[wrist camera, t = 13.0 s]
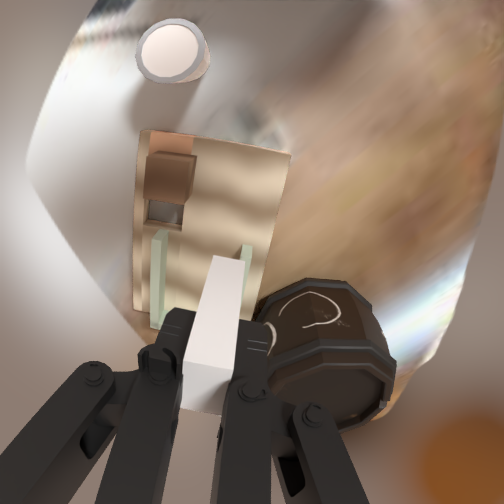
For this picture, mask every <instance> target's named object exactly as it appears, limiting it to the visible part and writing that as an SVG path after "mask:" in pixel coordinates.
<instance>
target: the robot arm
mask: <svg viewBox="0 0 504 504" xmlns="http://www.w3.org/2000/svg"><path fill="white" fill-rule="evenodd" d="M244 269H245V261H242V260H236V259H231V258H226V257H221V256H216V255H213V259H212V262H211V265H210V269H209V272H208V275H207V279H206V282H205V285H204V289H203V292H202V296H201V299H200V302H199V306H198V309H197V312H196V311H191V310H187V309H182V308H177V307H174V308H173V309H172V310H170V311H169V312H168V313H167V314H166V316H165V319H164V321H163V324H162V326H161V329H160V332H159V334H158V336H157V339H156V341H155V344H151V345H147V346H146V347H144V348H142V349H141V350H140V352H139V353H138V365H139V369H138V370H134V371H129V372H112V370H111V368H110V367H109V366H107V365H106V364H105V363H102V362H99V361H89V362H86V363H83V364H82V365H80V366H79V367H78V368H77V369H76V370H75V371H74V372H73V373H72V374H71V375H70V376H69V378H68V379H67V380H66V381H65V382H64V383H63V384H62V385H61V386H60V387H59V388H58V390H57V391H56V392H55V393H54V394H53V395H52V396H51V397H50V398H49V399H48V401H47V402H46V403H45V404H44V405H43V406H42V407H41V408H40V410H39V411H38V412H37V413H36V414H35V415H34V416H33V417H32V419H31V420H30V421H29V422H28V423H27V424H26V426H25V427H24V428H23V429H22V430H21V431H20V433H19V434H18V435H17V436H16V437H15V438H14V440H13V441H12V442H11V443H10V444H9V446H8V447H7V448H6V449H5V450H4V451H3V453H2V454H1V455H0V504H68V503H69V501H70V500H71V499H72V497H73V496H74V494H75V493H76V491H77V490H78V488H79V487H80V486H81V484H82V483H83V481H84V480H85V478H86V477H87V475H88V474H89V472H90V471H91V469H92V468H93V466H94V465H95V464H96V462H97V461H98V459H99V458H100V456H101V455H102V454H103V452H104V451H105V449H106V448H107V446H108V445H109V443H110V442H111V441H112V439H113V438H114V436H115V435H116V437H115V440H114V443H113V446H112V449H111V452H110V455H109V458H108V461H107V464H106V468H105V471H104V474H103V477H102V480H101V484H100V488H99V491H98V494H97V497H96V501H95V504H161V501H162V496H163V492H164V486H165V481H166V476H167V472H168V467H169V462H170V456H171V452H172V448H173V443H174V438H175V434H176V429H177V424H178V414H179V410H180V407H181V408H184V409H189V410H194V411H199V412H204V413H210V414H215V415H221V416H222V417H221V424H220V427H219V431H218V435H217V438H218V442H217V451H216V458H215V466H214V474H213V482H212V490H211V491H212V492H211V499H210V504H271V454H272V457H273V460H274V464H275V468H276V471H277V475H278V478H279V482H280V485H281V488H282V492H283V495H284V499H285V502H286V504H369V501H368V499H367V497H366V494H365V492H364V489H363V487H362V485H361V482H360V480H359V478H358V475H357V473H356V471H355V468H354V466H353V463H352V461H351V459H350V456H349V454H348V452H347V449H346V447H345V445H344V442H343V440H342V438H341V436H340V433H339V431H338V428H337V426H336V424H335V421H334V419H333V417H332V414H331V413H330V412H329V410H328V409H327V408H326V407H325V406H323V405H322V404H319V403H317V402H310V401H306V402H303V403H300V404H299V405H298V406H296V405H293V404H291V403H288V402H285V401H283V400H281V399H279V398H278V397H276V396H275V395H274V394H273V393H272V391H271V390H270V388H269V386H268V381H267V331H266V329H265V327H264V325H263V324H262V323H260V322H254V321H248V320H242V319H239V314H240V305H241V296H242V287H243V278H244ZM116 433H117V434H116Z"/></svg>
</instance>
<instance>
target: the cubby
mask: <svg viewBox="0 0 504 504" xmlns="http://www.w3.org/2000/svg"><path fill="white" fill-rule="evenodd" d="M168 233H169V230H163V229H159V230H158V231H157V233H156V234H155V235H154V237H153V238H152V243H151V270H150V328H154V329H158V330H160V329H161V326H162V324H163V321H164V319H165V316H166V314H167V313H168V312H169V311H168V310H164V300H165V278H166V261H167V246H168ZM252 247H253V246H249V245H244V244H243V245H242V250H241V255H240V260H242V261H245V269H244V278H243V287H242V296H241V304H242V300H243V295H244V291H245V286H246V282H247V277H248V273H249V268H250V264H251V259H252ZM240 309H241V305H240Z"/></svg>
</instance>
